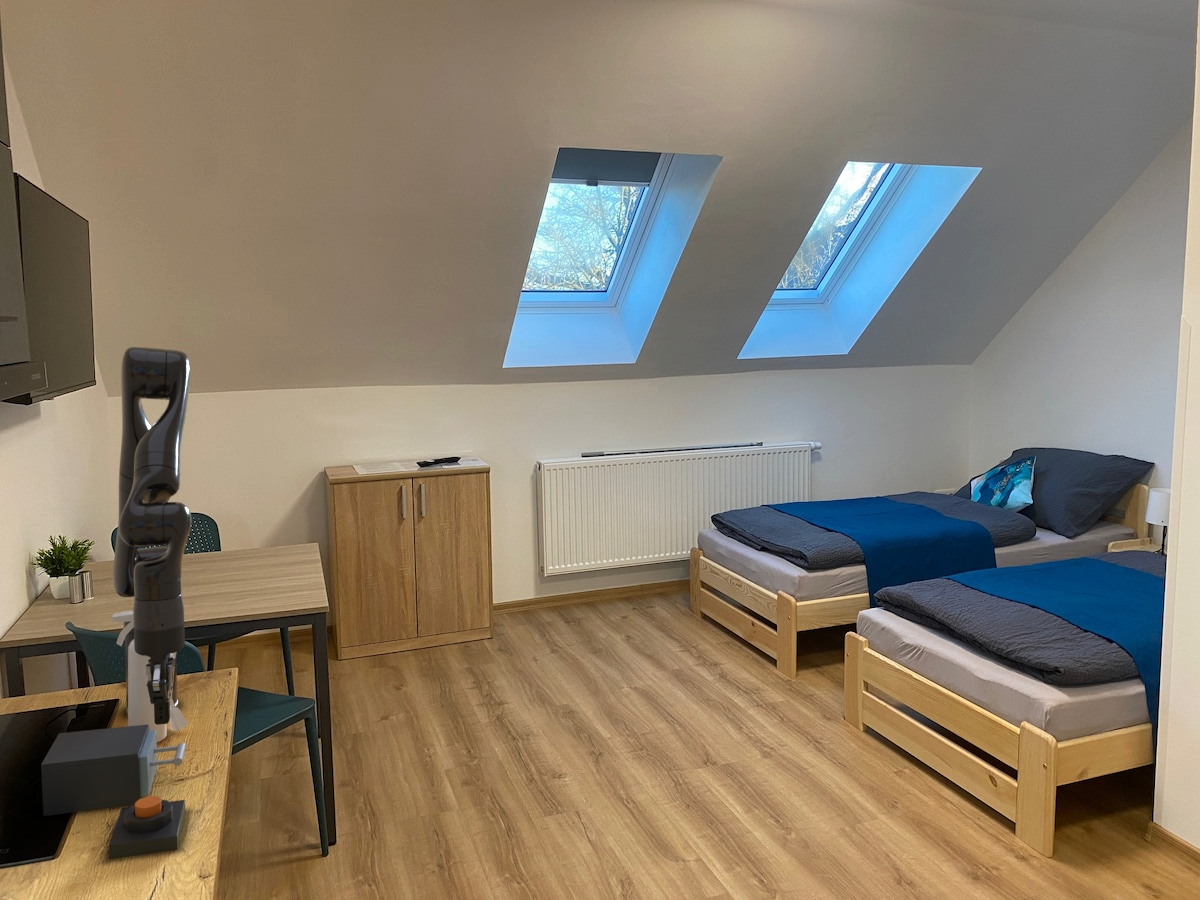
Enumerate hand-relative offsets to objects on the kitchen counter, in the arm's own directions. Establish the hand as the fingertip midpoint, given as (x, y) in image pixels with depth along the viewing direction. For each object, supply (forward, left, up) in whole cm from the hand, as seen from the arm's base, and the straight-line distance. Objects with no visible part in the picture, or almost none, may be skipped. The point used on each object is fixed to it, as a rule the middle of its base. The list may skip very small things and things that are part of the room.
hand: (162, 722), depth 150 cm
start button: (+16, 0, -8) cm, 18 cm away
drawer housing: (0, -10, -11) cm, 15 cm away
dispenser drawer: (0, -6, -10) cm, 12 cm away
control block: (+16, 0, -11) cm, 19 cm away
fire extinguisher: (-20, -4, -11) cm, 23 cm away
